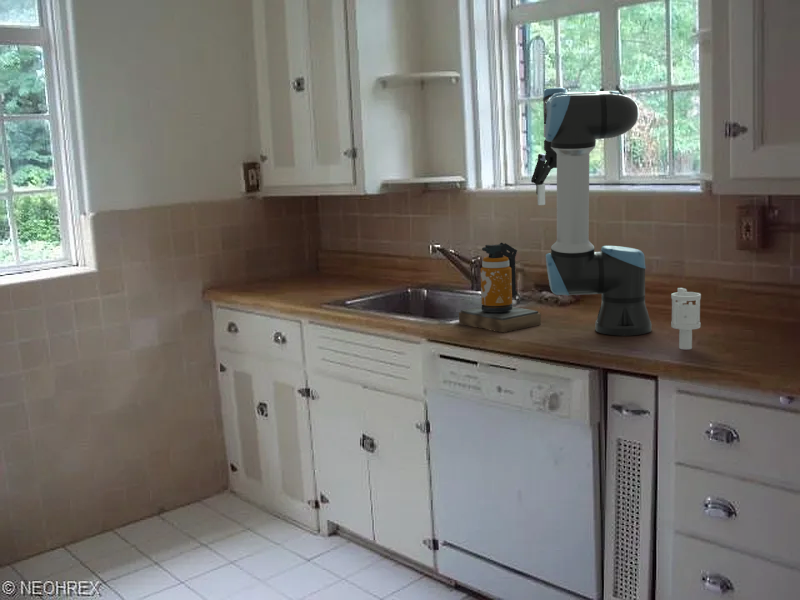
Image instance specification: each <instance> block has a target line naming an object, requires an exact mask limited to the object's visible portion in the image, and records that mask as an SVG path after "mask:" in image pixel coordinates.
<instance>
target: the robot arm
mask: <svg viewBox="0 0 800 600" xmlns="http://www.w3.org/2000/svg"><path fill="white" fill-rule="evenodd" d="M542 104H543V107H542V109H543V138H545V139H544V140H543V150H544V151H545V153H538V155H537V162H536V165H535V168H534V170H533V173H532V176H531V180H530V181H531V183H532V184H535V188H536V189H535V190H536V196H537V206H544V205H545V206H546V184H545V181H546V179H547V177H548V175H549V174H550V172H551V171H552V169H556V241H555V242H554V243H553V244H552V245H551V247H550V249H551V251H550V252H548V253H546V254H545V263H546V270H547V271H546V272H547V278H548V282H549V287H550V290H551V292H552V293H553V294H554V295H557V296H559V295H560V296H572V295H574V296H577V295H581V296H582V295H600V294H601V305H600V307H599V310H598V313H597V318H596V320H595V331H596V332H597V333H599V334H603V335H609V336H619V337H621V336H639V335H645V334H648V333H651V332H652V320H651V319H650V316H649V312H648V308H647V306H646V305H647V304H646V269H647V267H646V257H645V254H644V252H643V251H642V250H641V249H637V248H634V247H628V246H619V245H602V246H601V249H600V251H595V246H594V244H593V243H592V242H591V241H590V239H589V238H590V237H589V236H590V235H589V234H590V231H589V229H590V221H589V220H590V154H591V152H592V151H593V150H594V149H595V148H596V147H597V146H596V141H597V140H605V139H613V138H616V137H620V136H622V135H625V134H626V133H627V132H629V131H631V130H632V129H633V128H634V126H635V125H636V124H637V122H638V119H639V117H640V111H639V109H640V108H639V106H638V104H637V102H636V100H634V99H633V98H632V97H631V96H628V95H625V94H622V93H621V92H620V91H619V90H603V91H600V90H599V91H583V92H582V91H579V92H568V89H567V88H566V87H549V88H545V89H543V95H542Z"/></svg>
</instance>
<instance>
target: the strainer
mask: <svg viewBox="0 0 800 600" xmlns="http://www.w3.org/2000/svg"><path fill="white" fill-rule="evenodd" d="M670 296H671V297H670V299H671V323H670V327H671V328H672V329H675V330H679V331H678V332H679V333H678V340H679V341H678V343H679V344H678V347H679V348H678V349H679V350H680V349H681V350H687V351H688V350H692V349H693V330H698V329H700V328H701V299H702V294H701V292H694V291H688V289H687V288H684V287H677V292H673V293H671V295H670ZM694 301H695V303H694V304H693V302H694ZM687 303H688V304H687Z"/></svg>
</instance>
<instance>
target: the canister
mask: <svg viewBox="0 0 800 600" xmlns="http://www.w3.org/2000/svg"><path fill="white" fill-rule="evenodd" d="M481 250H482V251H483V252H485V253H486V254H488V255H487V256H484V257H483V258H482V260H481V261H482V262H481V265H482V267H481V268H480V298H481V299H480V303H481V307H482V310H483V311H486V312H487V313H505V312H508V311H509V310H512V307H513V298H515V297H516V295H517V294H518V292H517V290H516V289H517V287H516V267H517V266H516V256H517V253H518V250H517V249H516V248H514V247H512V246H510V245H509V244H508V243H506V242H505V243H504V242H500V243H499V244H486V245H485V246H484V247H482V248H481Z"/></svg>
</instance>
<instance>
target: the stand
mask: <svg viewBox="0 0 800 600" xmlns="http://www.w3.org/2000/svg"><path fill="white" fill-rule="evenodd" d="M541 315H542V314H541V312H539V311H538V310H533V309H528V308H522V307H516V306H512V310H509V311H508V312H505V313H487V312H486V311H483V310H482V306H479V307H478V306H477V307H472V308H467V309H462V310H461V311H460V312H458V324H459V325H463V326H464V325H465V326H469V327H473V328H477V327H479V329H482V328H486V329H485V330H487V329H491V330H490V331H492V330H495V331H494V332H497V331H500V332H499V333H501V332H504V333H508V332H507V331H509V332H513V331H512V330H514V331H518V330H523V329H527V328H531V327H536V326H540V325H542V319H541V317H542V316H541ZM517 329H518V330H517Z"/></svg>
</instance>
